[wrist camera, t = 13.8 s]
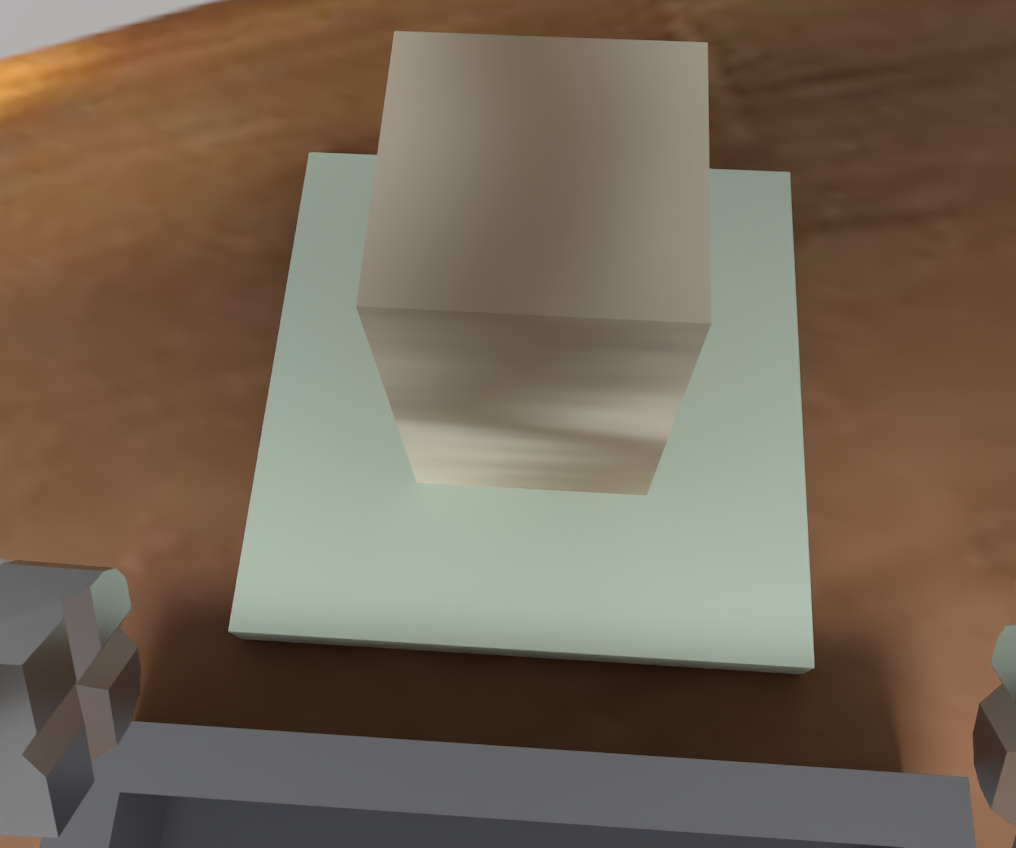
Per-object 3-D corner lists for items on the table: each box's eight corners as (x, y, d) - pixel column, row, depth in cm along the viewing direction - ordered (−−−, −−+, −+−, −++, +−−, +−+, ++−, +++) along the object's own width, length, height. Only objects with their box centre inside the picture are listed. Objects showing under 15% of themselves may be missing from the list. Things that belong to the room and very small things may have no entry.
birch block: (649, 292, 23) (707, 42, 15) (646, 495, 21) (710, 323, 14) (437, 281, 23) (394, 30, 16) (416, 482, 21) (356, 306, 14)
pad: (780, 195, 25) (789, 172, 24) (801, 674, 20) (815, 668, 20) (317, 175, 25) (309, 152, 24) (241, 639, 21) (228, 631, 20)
